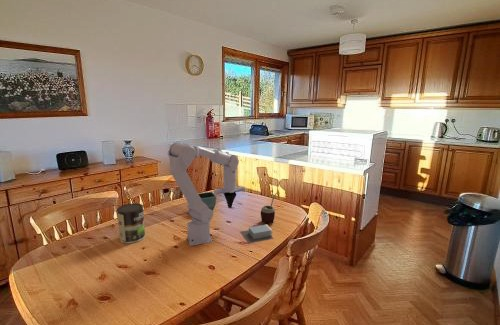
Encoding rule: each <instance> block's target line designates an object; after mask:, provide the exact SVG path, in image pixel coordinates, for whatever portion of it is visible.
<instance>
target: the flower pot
mask: <svg viewBox="0 0 500 325" xmlns="http://www.w3.org/2000/svg"><path fill="white" fill-rule="evenodd" d="M198 195H199V196H200V198H201V200H202V201H203V202H204V203H205V204H206V205H207V207H208V208H209V209H211V210H212V212H213V211H214V209H215V207H216V204H217V203H216V202H217V195H215V194H214V191H213V192H212V191H209V192H200V193H198Z"/></svg>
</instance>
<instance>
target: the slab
mask: <svg viewBox="0 0 500 325" xmlns="http://www.w3.org/2000/svg"><path fill="white" fill-rule="evenodd" d="M248 230H249V234H250V235H251V236H252V238H253V239H257V238H263V237H268V236H272V237H273V229H272V228H271V227H270V226H269V225H268V224H266V223H265V224H261V225H255V226H249V227H248Z"/></svg>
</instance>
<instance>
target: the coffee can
mask: <svg viewBox="0 0 500 325" xmlns="http://www.w3.org/2000/svg"><path fill="white" fill-rule="evenodd" d="M116 212H117V222H118V228H119V230H118V232H119V241H120V242H121V243H123V244H134V243H138V242H140V241H142V240H144V238H146V229H145V215H144V205H143V204H142V203H138V202H137V203H135V202H134V203H126V204H123V205H120V206H118V208H117V209H116Z"/></svg>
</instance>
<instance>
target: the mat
mask: <svg viewBox="0 0 500 325" xmlns="http://www.w3.org/2000/svg"><path fill="white" fill-rule="evenodd" d="M239 233H240V234H241V235H242V237H243V238H244V240H246V242H247V244H253V243H258V242H259V243H260V242H264V241H269V240H273V239H274V238H275V237H273V235H272V236H268V237H263V238H257V239H253V238H252V236H251V235H250V234H249V229H247V230H242V231H240V232H239Z"/></svg>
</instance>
